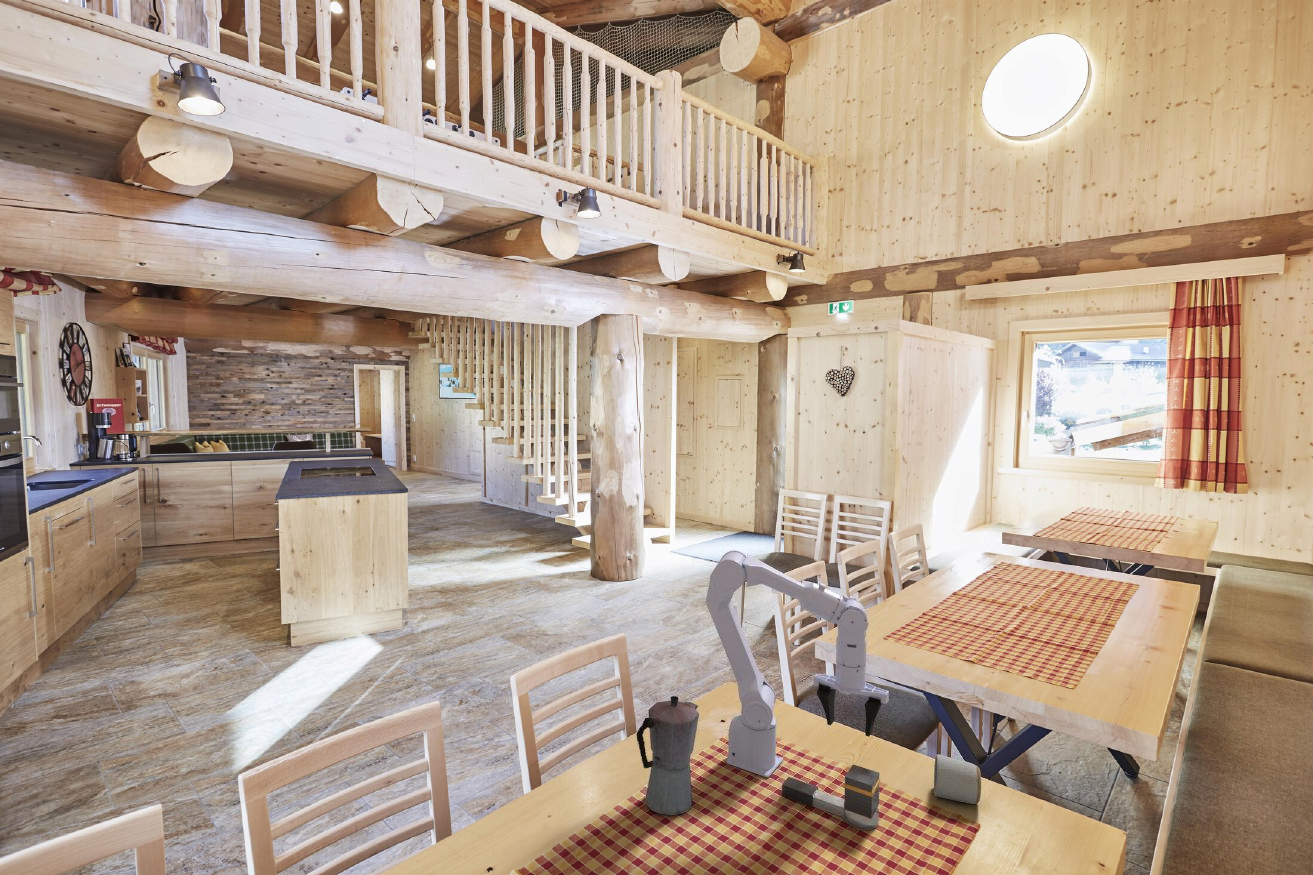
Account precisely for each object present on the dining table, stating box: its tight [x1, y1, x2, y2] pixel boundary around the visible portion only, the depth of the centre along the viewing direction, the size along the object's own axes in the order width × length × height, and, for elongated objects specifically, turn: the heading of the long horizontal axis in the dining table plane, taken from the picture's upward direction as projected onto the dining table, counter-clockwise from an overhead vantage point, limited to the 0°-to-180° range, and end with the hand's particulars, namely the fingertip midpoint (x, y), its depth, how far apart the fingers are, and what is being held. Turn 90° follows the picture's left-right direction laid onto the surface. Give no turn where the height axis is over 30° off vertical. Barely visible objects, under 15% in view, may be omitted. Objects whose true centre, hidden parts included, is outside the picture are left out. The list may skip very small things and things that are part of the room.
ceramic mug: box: [933, 754, 982, 805], centre depth 123 cm, size 10×8×7 cm
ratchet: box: [781, 776, 880, 831], centre depth 118 cm, size 18×6×5 cm, turn 56°
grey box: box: [843, 764, 881, 819], centre depth 115 cm, size 5×5×6 cm
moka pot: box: [635, 695, 700, 816], centre depth 118 cm, size 10×15×20 cm, turn 137°
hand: (849, 728), depth 128 cm, fingers open, 7 cm apart
